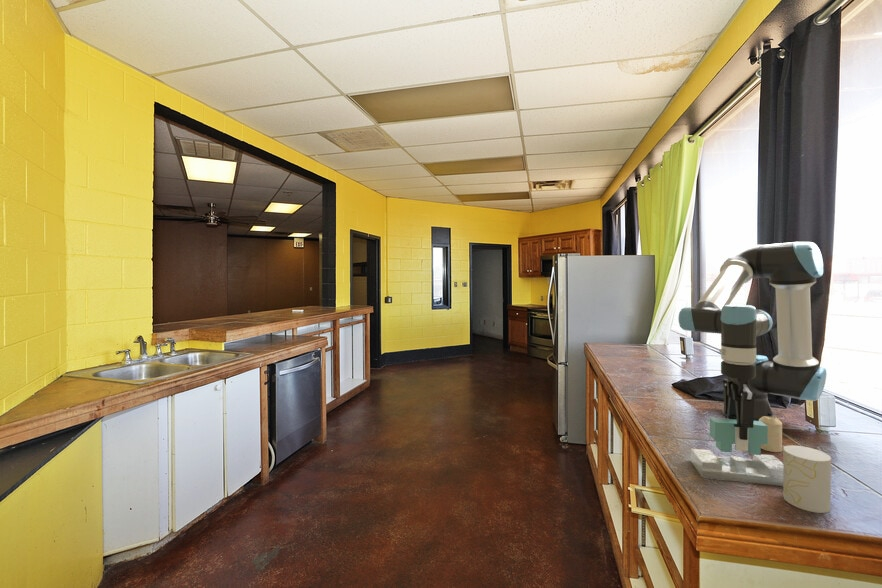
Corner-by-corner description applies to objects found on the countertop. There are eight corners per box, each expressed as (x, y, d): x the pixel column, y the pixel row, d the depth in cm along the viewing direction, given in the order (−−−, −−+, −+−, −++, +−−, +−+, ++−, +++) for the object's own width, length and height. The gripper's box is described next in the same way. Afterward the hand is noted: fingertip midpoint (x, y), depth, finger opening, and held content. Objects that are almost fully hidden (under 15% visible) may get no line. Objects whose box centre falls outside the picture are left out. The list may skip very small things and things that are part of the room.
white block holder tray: (771, 468, 107) (771, 454, 107) (793, 487, 97) (793, 471, 97) (690, 460, 112) (690, 447, 112) (703, 477, 103) (702, 463, 103)
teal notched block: (760, 449, 104) (760, 421, 104) (767, 455, 101) (767, 425, 101) (709, 445, 108) (709, 417, 108) (714, 451, 105) (714, 422, 104)
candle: (776, 445, 120) (776, 414, 120) (785, 453, 115) (785, 420, 115) (755, 443, 122) (755, 412, 122) (763, 451, 117) (763, 419, 116)
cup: (774, 494, 95) (774, 446, 94) (804, 491, 95) (804, 444, 95) (808, 514, 86) (808, 462, 86) (840, 511, 87) (841, 459, 87)
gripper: (710, 355, 113) (710, 433, 113) (736, 368, 97) (735, 459, 98) (740, 356, 111) (739, 435, 111) (771, 369, 95) (771, 462, 95)
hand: (737, 446), depth 104 cm, fingers closed on teal notched block, 3 cm apart
